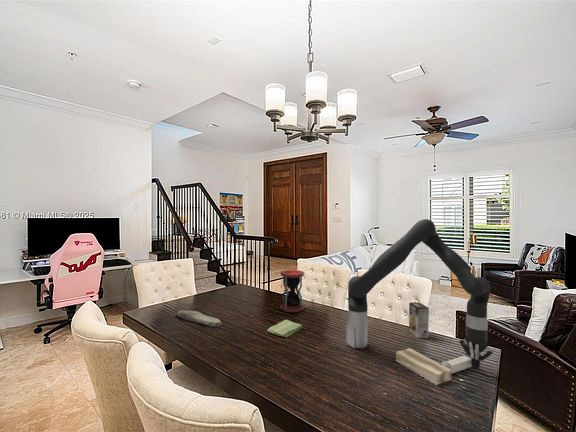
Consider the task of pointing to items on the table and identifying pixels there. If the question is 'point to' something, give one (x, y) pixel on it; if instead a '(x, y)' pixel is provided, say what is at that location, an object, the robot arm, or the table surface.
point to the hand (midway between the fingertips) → (475, 367)
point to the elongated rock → (199, 318)
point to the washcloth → (284, 328)
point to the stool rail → (423, 366)
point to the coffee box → (418, 319)
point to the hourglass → (292, 291)
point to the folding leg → (458, 363)
